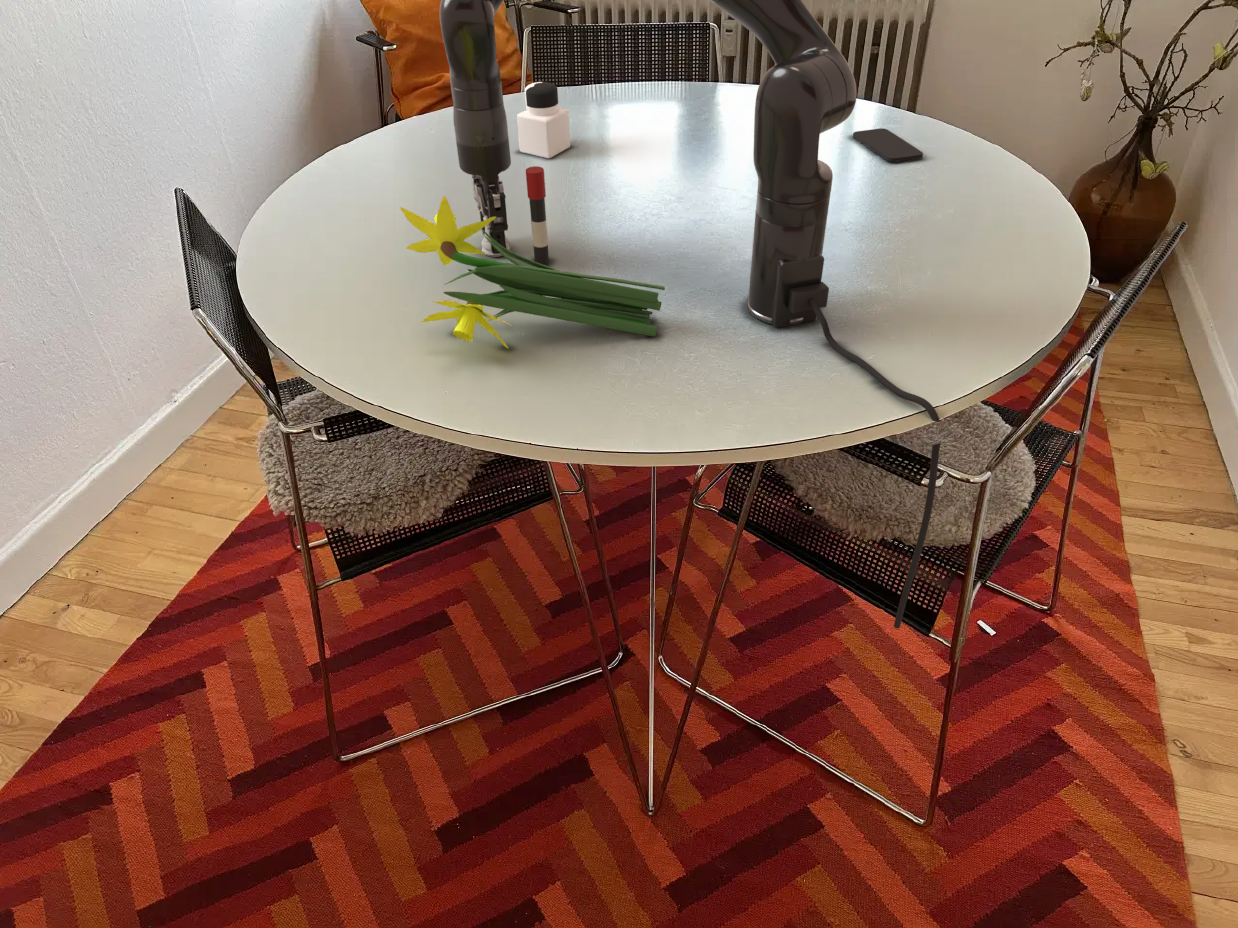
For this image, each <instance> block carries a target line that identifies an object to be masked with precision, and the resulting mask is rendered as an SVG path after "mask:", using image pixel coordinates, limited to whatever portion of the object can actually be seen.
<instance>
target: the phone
mask: <svg viewBox="0 0 1238 928" xmlns="http://www.w3.org/2000/svg"><path fill="white" fill-rule="evenodd" d="M852 137H853V139H855V140H857V141H858V142H859V143H861V144H862V145H864V146H865V147H866V148H867V149H869V150H871V151H872V152H873V153H875V154H876V155H878V156H879V157H880V158H882V159H883V160H885V161H887V162H890V163H896V162H897V163H898V162H905V161H912V160H918V159H922V158H923V156H924V152H923V151H922V150H920V149H918V148H917V147H915V146H913V145H912V144H911V143H909V142H908V141H906V140H905V139H903V138H901V137H900V136H898V135H897V134H895V133H894V132H892V131H890V130H889V129H887V128H874V129H873V128H872V129H866V130H865V129H864V130H857V131H854V132H853V133H852Z"/></svg>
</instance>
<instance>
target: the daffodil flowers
mask: <svg viewBox="0 0 1238 928" xmlns="http://www.w3.org/2000/svg"><path fill="white" fill-rule="evenodd" d="M399 209H400V210H401V212H402V214H403V215H404V217H405V218H406V219H407V221H408V222H409V223H410V224H411V225H412V226H413V227H414V228H416V229H417V230H419V231H420V232H422V233H423V234H425V235H426V236H427V237H428V238H425V239H422V240H419V241H416V242H414V243H410V244H409V245H407V246H406V247H405V249H407V250H410V251H413V252H416V253H422V254H424V253H433V252H434V253H435V252H437V255H438V257H439V260H440V262H441V264H442V266H447V265H450V264H451V263H452V262H453V261H455V262H456V263H459V264H463V265H466V266H471V267H475V268H474V269H470V268H468V269H467V271H468V272H465V273H463V274H460V275H458V276H457V277H455V278H453V279H452V280H449V281H448V282H445V283H444V284H443V285H448V284H450V283H453V282H455V281H457V280H459V279H462V278H465V277H467V276H470V275H475V276H477V277H478V278H479V279H483V280H485V281H488V282H489V283H493V284H496V285H499V287H500V288H501V289H503V290H497V291H493V292H488V293H475V292H466V291H465V292H464V291H443V292H442V293H443V294H444V295H447V296H449V297H452V298H454V299H458V300H460V301H465V302H466V303H464V304H463V303H460V302H457V301H452V300H441V301H433V303H434V304H437V305H441V306H445V307H448V308H451V309H453V310H447V311H439V312H436V313H435V312H434V313H432V314H430V315H428V316H427V317H426V318H424V319H422V320H420V322H422V323H423V322H424V323H425V322H435V321H443V320H451V319H456V326H455V328H454V329H453V331H452V334H453V336H455V338H458V339H459V340H461V339H462V341H463V342H465V341H466V342H467V343H468V342H473V341H474V334H475V328H476V323H478V324H479V325H480V326H481V327H482V328H484V329H485V330H486V331H488V332H489V333H490V334H492V335H493V336H494V337H495V338H497V339H498V340H499V341H500V342H501V344H502V345H503V346H504V347H505V348H506V349H508V350H509V346H508V345H507V344H506V343H505V341H504V340H503V338H502V337H501V336H500V333H498V332H497V330H496V329H494V327H493V326H492V325H491V324H490V323H489V321H499V322H502V323H503V322H504V323H505V324H507V325H509V326H511V327H513V325H512V324H511V323H508V322H507V321H505V320H502V319H500V318H499V317H502V316H505V315H507V314H509V313H513V312H515V313H516V312H517V313H523V314H527V315H533V316H539V317H545V318H549V319H555V320H561V321H566V322H573V323H577V324H584V325H589V326H594V327H599V328H605V329H610V330H615V331H621V332H626V333H632V334H637V335H643V336H648V337H654V338H655V337H656V336H657V330H658V326H657V325H653V324H652V319H651V317H650V316H651V315H653V314H654V312H653V311H658V312H660V311H661V307H662V301H659V294H660V293H659V292H656V291H651V290H646V289H642V288H641V289H640V288H635V287H631V286H636V287H643V288H649V289H655V290H661V291H665V289H666V287H665V286H664V285H658V284H652V283H647V282H641V281H635V280H628V279H623V278H615V277H607V276H602V275H601V276H600V275H592V274H586V273H578V272H571V271H564V270H560V269H557V268H555V267H551V266H547V265H542V264H539V263H537V262H535V260H532V259H530V258H527V257H525V256H522V255H519V254H517V253H515V252H513V251H512V250H510V249H509V250H508V249H506V248H504V247H503V246H501V245H500V244H499V243H498V242H496V241H495V240H494V239H493V238H492V237H491V236H490V235H488V234H487V233H486V232H485V231H484V230H483V229H482V228H484V227H485V226H486V225H487V224H489V223H490V222H491V221H493V220H494V219H495V218H496V217H490V218H489V219H487V220H485V221H481V220H480V221H478V222H477V221H476V222H475V223H470V224H468V225H464V226H460V227H459V228H458V225H457V222H456V220H457V216H456V213H453V210H452V208H451V205H450V203H449V201H448V199H447V197H446V196H443V197H442V198H441V201H440V203H439V208H438V212H437V213H435V216H434V215H433V216H434V218H433V220H434V222H435V223H434V222H432V221H430V220H428V219H426V218H424V217H423V216H420V215H418V214H417V213H415V212H413V211H411V210H408V209H406V208H404V207H401V206H400V207H399ZM480 231H481V232H482V231H483V232H484V233H485V234H486V236H487V237H488V238H489V239H490V240H491V241H492V242H493V243H494V244H495V245H496V246H495V245H494V244H493V243H492V242H491V241H490V240H489V239H488V238H487V237H486V236H485V234H483V232H482V236H483V237H484V236H485V237H486V239H487V240H488V241H489V242H490V243H491V245H492V246H493V247H494V248H495V249H496V250H497V251H498V252H500V253H501V254H502V255H503V256H502V257H503V258H504V259H507V260H508V261H510V262H511V263H508V262H502V261H497V260H492V259H487V258H481V257H476V256H471V255H472V254H473V255H485V253H484V252H482V250H480V249H479V248H478V247H476V246H474V245H473V244H471V243H470V242H468V241H466V240H467V239H469V238H470V237H472V236H473V235H475V234H477V233H478V232H480ZM464 253H465V254H464ZM505 253H506V254H505ZM467 254H471V255H467ZM527 264H528V265H527ZM529 265H530V266H529ZM611 282H612V283H611ZM615 283H619V284H615ZM620 284H624V285H625V284H626V285H631V286H624V285H620ZM484 306H485V307H490V308H495V309H501V310H500V311H499V312H497V313H496V314H494V315H491V314H489V313H487V312H485V311H484ZM650 310H651V311H650ZM486 318H487V319H489V320H487V319H486Z"/></svg>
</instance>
